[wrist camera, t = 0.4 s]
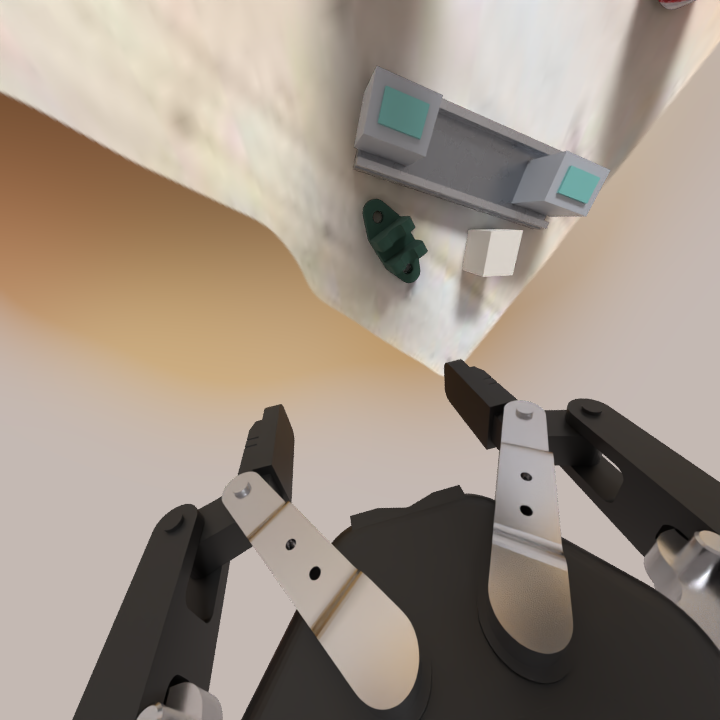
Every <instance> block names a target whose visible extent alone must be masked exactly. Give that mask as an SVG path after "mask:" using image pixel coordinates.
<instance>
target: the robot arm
mask: <svg viewBox="0 0 720 720" xmlns="http://www.w3.org/2000/svg"><path fill="white" fill-rule="evenodd" d="M444 378H445V392H446V396H447V398H448V400H449V402H450V403H451V404H452V405H453V407H454V408H455V409H456V411H457V412H458V413H459V415H460V416H461V417H462V418H463V420H464V421H465V422H466V423H467V425H468V426H469V427H470V429H471V430H472V431H473V433H474V434H475V435H476V437H477V438H478V439H479V440H480V442H481V443H482V444H483V446H484V447H485V448H486V449H491V448H495V447H497V449H498V450H499V460H498V471H497V481H496V491H495V500H493V499H491V498H488V497H484V496H480V495H476V494H464V492H463V491H462V489H461V487H460V485H458V486H454V487H450V488H447V489H443V490H440V491H436V492H433V493H431V494H430V495H428V496H427V497H425V498H423V499H422V500H420V501H418V502H416V503H415V504H413V505H412V506H410V507H407V508H377V509H374V510H370V511H366V512H363V513H359V514H356V515H352V516H350V518H351V526H350V527H349V528H347V529H346V530H344V531H343V532H342V533H341V534H340V535H339V536H338V537H337V538H335V540H334V541H333V542H332V543H330V542H329V541H328V540H327V539H326V538H325V537H324V536H323V535H322V534H321V533H320V532H319V531H318V530H317V529H316V528H315V527H314V526H313V525H312V524H311V523H310V521H309V520H308V519H306V517H305V516H304V515H303V514H302V513H301V512H300V511H299V510H298V509H297V508H296V507H295V506H294V505H293V504H292V503H291V499H292V478H293V458H294V433H293V429H292V427H291V424H290V422H289V419H288V417H287V414H286V412H285V410H284V407H283V406H282V404H280V405H276V406H272V407H268V408H265V410H264V414H263V419H262V420H260V421H256V422H255V424H254V425H253V426H252V428H251V429H250V430H249V434H248V438H247V442H246V445H245V449H244V453H243V457H242V461H241V465H240V469H239V473H238V476H236V477H235V478H234V479H232V480H231V481H230V482H229V483H228V485H227V486H226V487H225V489H224V491H223V494H222V496H221V497H220V498H218V499H217V500H215V501H213V502H212V503H209V504H208V505H206V506H204V507H202V508H200V509H197V508H196V507H195V506H194V505H192V504H184V505H181V506H179V507H176V508H174V509H173V510H171V511H170V512H168V513H167V514H166V515H165V516H164V517H163V518H162V519H161V520H160V521H159V522H158V524H157V525H156V527H155V528H154V530H153V532H152V535H151V537H150V539H149V542H148V544H147V546H146V549H145V551H144V554H143V556H142V558H141V561H140V563H139V565H138V568H137V570H136V572H135V575H134V577H133V579H132V581H131V584H130V586H129V588H128V591H127V593H126V596H125V598H124V600H123V603H122V605H121V607H120V610H119V612H118V615H117V617H116V619H115V621H114V624H113V626H112V628H111V631H110V633H109V635H108V638H107V640H106V642H105V645H104V647H103V649H102V652H101V654H100V656H99V659H98V661H97V663H96V666H95V668H94V670H93V673H92V675H91V677H90V680H89V682H88V685H87V687H86V689H85V691H84V694H83V696H82V698H81V701H80V703H79V705H78V708H77V710H76V712H75V715H74V717H73V720H222V718H223V717H222V708H221V705H220V703H219V700H218V699H217V698H216V697H215V696H214V695H212V694H210V693H209V692H208V691H209V685H210V679H211V673H212V667H213V661H214V655H215V649H216V642H217V637H218V631H219V625H220V619H221V613H222V607H223V600H224V594H225V588H226V582H227V576H228V570H229V564H230V560H232V559H233V558H235V557H237V556H238V555H240V554H241V553H243V552H244V551H246V550H247V549H249V548H251V547H252V546H253V547H254V548H255V550H256V551H257V552H258V554H259V555H260V557H261V558H262V560H263V561H264V563H265V564H266V566H267V567H268V568H269V570H270V571H271V573H272V574H273V576H274V577H275V578H276V580H277V581H278V582H279V584H280V586H281V587H282V588H283V590H284V591H285V593H286V594H287V595H288V597H289V598H290V600H291V601H292V603H293V604H294V606H295V607H296V608H297V610H296V612H295V613H294V616H293V617H292V620H291V621H290V623H289V625H288V628H287V629H286V631H285V634H284V636H283V637H282V640H281V641H280V644H279V646H278V647H277V649H276V651H275V654H274V656H273V658H272V659H271V661H270V663H269V665H268V668H267V670H266V671H265V673H264V675H263V677H262V679H261V681H260V683H259V686H258V688H257V689H256V691H255V693H254V695H253V697H252V700H251V701H250V704H249V705H248V707H247V709H246V712H245V713H244V715H243V717H242V719H241V720H720V482H719V481H717V480H716V479H714V478H713V477H711V476H710V475H708V474H707V473H705V472H704V471H703V470H701V469H700V468H698V467H697V466H695V465H694V464H692V463H691V462H689V461H688V460H686V459H685V458H684V457H682V456H681V455H679V454H678V453H676V452H675V451H673V450H672V449H670V448H669V447H668V446H666V445H665V444H663V443H661V442H660V441H659V440H657V439H656V438H654V437H653V436H651V435H650V434H648V433H647V432H646V431H644V430H643V429H641V428H640V427H638V426H637V425H635V424H634V423H633V422H631V421H630V420H628V419H627V418H625V417H624V416H622V415H621V414H619V413H618V412H616V411H615V410H614V409H612V408H611V407H609V406H608V405H606V404H604V403H601V402H599V401H595V400H592V399H575V400H572V401H570V402H569V403H568V406H567V410H543V409H542V408H541V407H539V406H538V405H536V404H534V403H532V402H529V401H523V400H517V399H516V398H515V397H514V396H512V395H511V394H510V393H509V392H508V391H507V390H506V389H504V388H503V387H502V386H501V385H500V384H499V383H497V382H496V381H495V380H494V379H493V378H491V376H490V375H488V374H487V373H486V372H485V371H484V370H481V369H479V368H476V367H469V366H468V365H467V364H466V363H465V362H464V361H463V360H461V359H460V360H456V361H452V362H448V363H445V365H444ZM602 454H604V455H605V456H606V457H607V458H608V459H609V460H611V461H612V462H613V463H614V464H615V465H616V466H617V467H618V468H619V469H620V471H621V472H622V473H621V472H620V471H618V470H617V469H616V468H615V467H614V466H613V465H612V464H611V463H609V462H608V461H607V460H606V459H605V458H604V457H603V456H602ZM554 465H560V467H562V469H563V470H564V471H565V472H566V473H567V474H568V475H569V476H570V477H571V478H572V479H573V480H574V481H575V483H576V484H577V485H578V486H579V487H580V488H581V489H582V490H583V491H584V492H585V494H587V496H588V497H589V498H590V499H591V500H592V501H593V502H594V503H595V504H596V505H597V506H598V508H599V509H600V510H601V511H602V512H603V513H604V514H605V515H606V516H607V517H608V518H609V519H610V521H611V522H612V523H613V524H614V525H615V526H616V527H617V528H618V529H619V530H620V531H621V532H622V533H623V535H624V536H625V537H626V538H627V539H628V540H629V541H630V542H631V543H632V544H633V545H634V547H635V548H636V549H637V550H638V551H639V552H640V553H641V554H642V555H643V556H644V557H645V558H644V566H645V570H646V572H647V574H648V576H649V577H650V579H651V580H652V582H653V583H654V587H655V589H654V588H652V587H650V586H649V585H647V584H645V583H644V582H642V581H640V580H638V579H636V578H634V577H633V576H631V575H629V574H627V573H626V572H624V571H622V570H620V569H618V568H616V567H615V566H613V565H611V564H609V563H608V562H606V561H604V560H602V559H600V558H599V557H597V556H595V555H593V554H591V553H589V552H588V551H586V550H584V549H582V548H580V547H579V546H577V545H575V544H573V543H571V542H570V541H568V540H566V539H564V538H562V537H561V530H560V520H559V509H558V498H557V488H556V478H555V467H554Z"/></svg>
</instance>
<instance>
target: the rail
mask: <svg viewBox="0 0 720 720" xmlns="http://www.w3.org/2000/svg"><path fill="white" fill-rule="evenodd" d="M372 75H373V74H372ZM560 152H562V151H560V150H558V149H555V148H553V147H551V146H549V145H546V144H544V143H542V142H540V141H537V140H535V139H533V138H531V137H528V136H526V135H524V134H522V133H519V132H517V131H515V130H513V129H510V128H508V127H506V126H504V125H501V124H499V123H497V122H495V121H492V120H490V119H488V118H486V117H483V116H481V115H479V114H477V113H474V112H472V111H470V110H468V109H465V108H463V107H461V106H458V105H456V104H454V103H452V102H449V101H447V100H445V99H443V98H442V101H441V104H440V108H439V111H438V115H437V118H436V122H435V125H434V129H433V132H432V136H431V139H430V143H429V146H428V150H427V154H426V157H424V158H422V159H420V160H418V161H416V162H414V163H412V164H410V165H408V166H405V165H402V164H399V163H397V162H394V161H391V160H388V159H385V158H382V157H380V156H377V155H374V154H371V153H368V152H366V151H363V150H360V149H357V152H356V157H355V162H354V167H353V169H355V170H358V171H361V172H364V173H367V174H370V175H373V176H376V177H379V178H382V179H385V180H388V181H391V182H394V183H397V184H400V185H403V186H406V187H409V188H412V189H415V190H418V191H421V192H424V193H427V194H430V195H433V196H436V197H439V198H442V199H445V200H448V201H451V202H454V203H457V204H460V205H463V206H466V207H469V208H472V209H475V210H478V211H481V212H484V213H487V214H490V215H493V216H496V217H499V218H502V219H505V220H508V221H511V222H514V223H517V224H520V225H523V226H526V227H529V228H532V229H540V228H545V229H546V228H547V226H548V224H549V222H546V221H544V219H545V217H546V215H543V214H540V213H538V212H535V211H532V210H529V209H526V208H524V207H521V206H518V205H515V204H512V201H513V198H514V196H515V193H516V191H517V189H518V186H519V184H520V181H521V179H522V177H523V174H524V172H525V169H526V167H527V165H528V162H529V160H533V159H537V158H541V157H545V156H549V155H553V154H557V153H560Z"/></svg>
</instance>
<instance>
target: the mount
mask: <svg viewBox="0 0 720 720" xmlns="http://www.w3.org/2000/svg"><path fill="white" fill-rule="evenodd" d="M375 211H379V212H380V213H381V214H382V219H381V221H380V222H379V223H375V222H374V221H373V214H374V212H375ZM363 218H364V223H365V228H366V232H367V237H368V241H369V242H370V244H371V245H372V247H373V249H374V250H375V252H376V254H377V255H378V257H379V258H380V260H381V262H382V263H383V265H384V266H385V268H386V269H387V270H388V271H390V272H391V273H393V274H394V275H395V276H397V277H398V278H400V279H401V280H403V281H404V282H406V283H412V282H414V281H416V280H417V278H418V277H419V275H420V265H419V258H421V257H422V256H423V255H425V254H426V253H427V251H428V250H427V248H426V247H425V245H424V243H423V241H421V240H415V239H414V237H413V235H412V234H411V231H412V230H413V229H414V228H415V225H414V223H413V221H412V219H411V217H410V216H399V215H398V214H397V213H396V212H395V211H393V210H392V209H391V208H390V207H389V206H387V205H386V204H385V203H384V202H383V201H381V200H379V199H373V200H370V201H368V202H367V203H366V204H365V206H364V208H363ZM408 264H410V266H411V268H410V270H409V272H407V273H404V271H403V270H405V269H406V266H407V265H408Z"/></svg>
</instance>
